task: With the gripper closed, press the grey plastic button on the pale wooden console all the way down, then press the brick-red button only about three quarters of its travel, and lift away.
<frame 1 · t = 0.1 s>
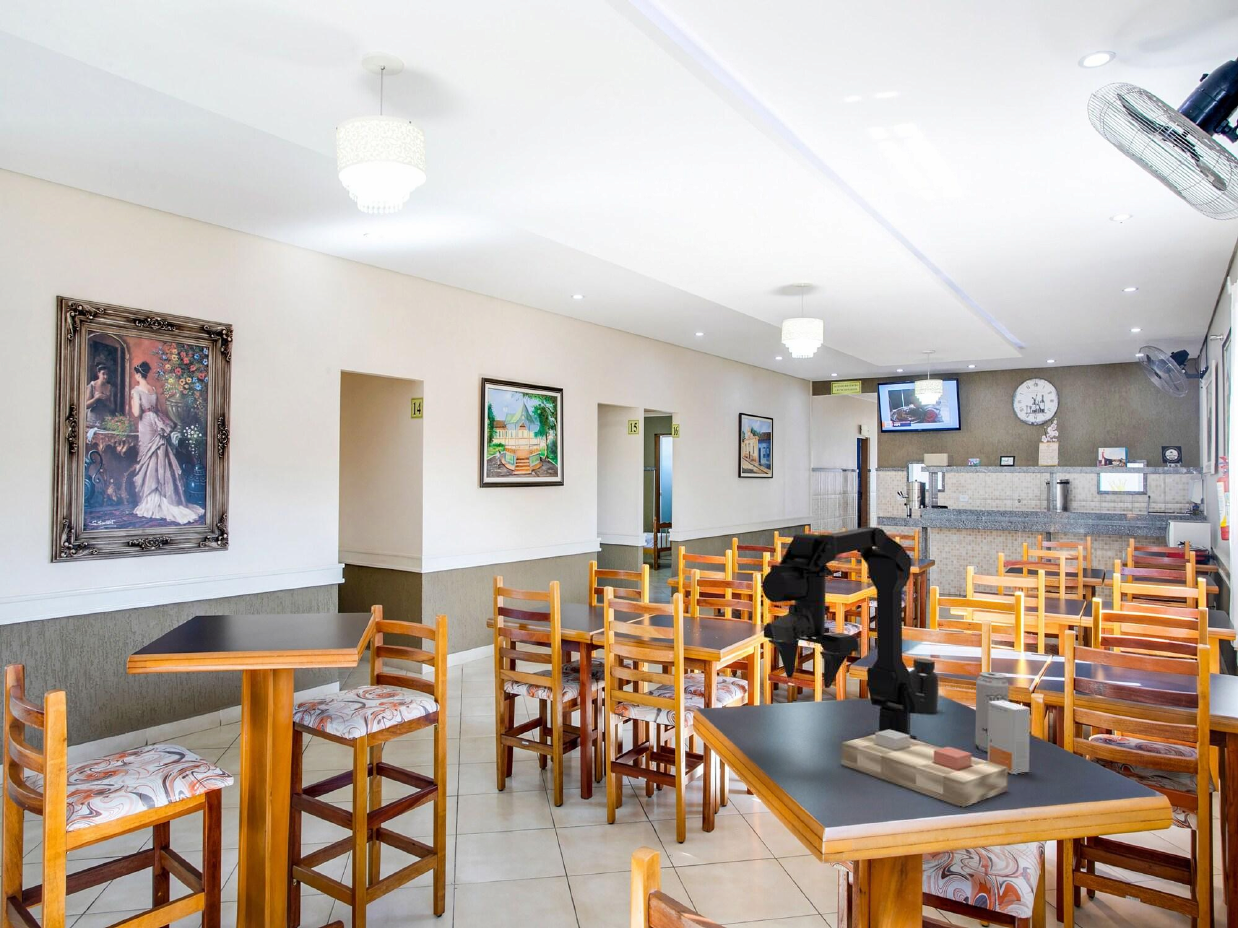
hand: (808, 682, 149), 15 cm above the table, tool pointing down, fingers open, 9 cm apart
supplement bottle: (922, 711, 188), on the table
button red: (952, 762, 137), point 4 cm above the table, slide at 0.0 cm
skincare box: (1008, 769, 148), on the table
button grey: (892, 743, 146), point 4 cm above the table, slide at 0.0 cm
console: (921, 777, 141), on the table
energy drink can: (991, 750, 159), on the table
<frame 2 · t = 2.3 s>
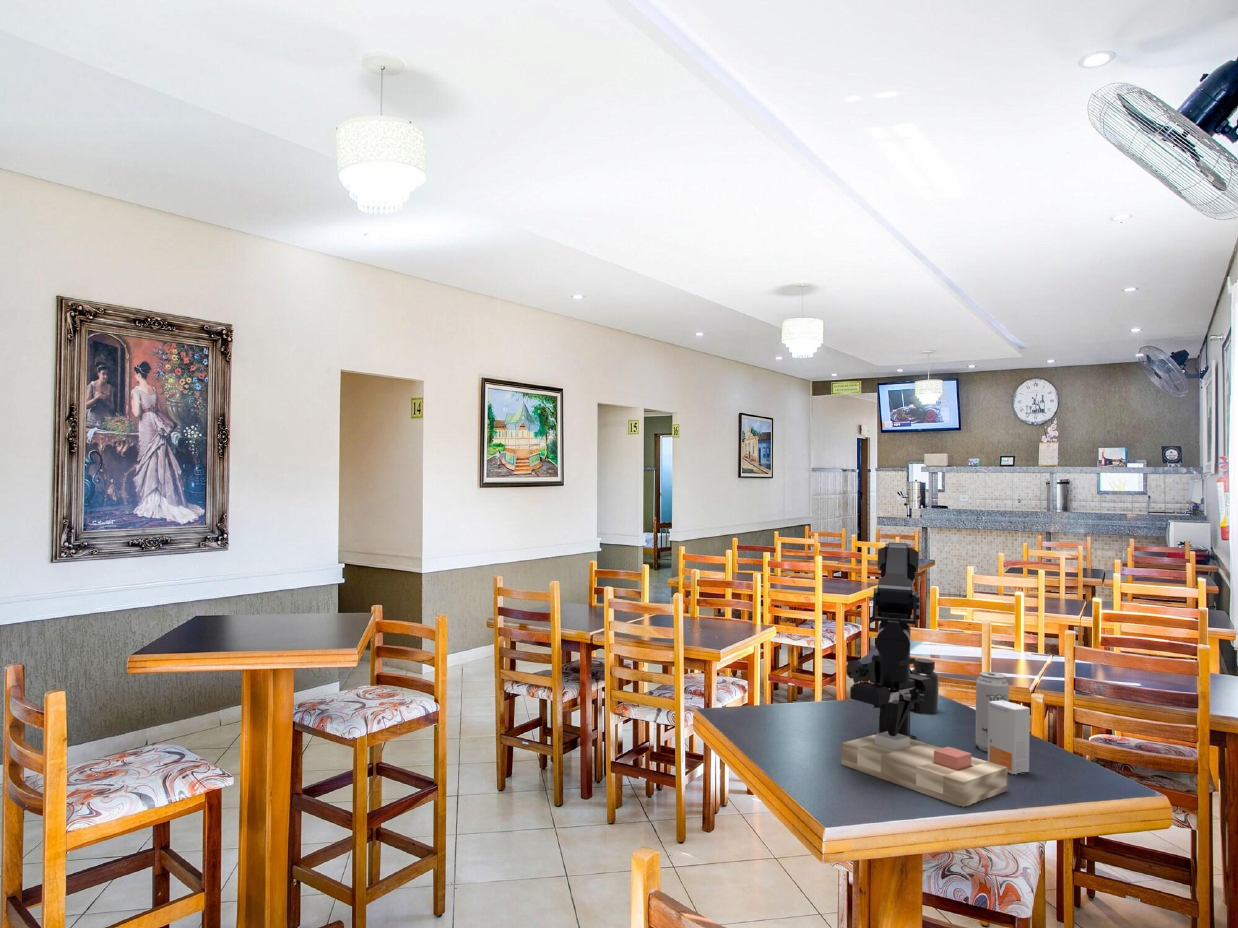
hand: (892, 735, 146), 6 cm above the table, tool pointing down, fingers closed, pressing on button grey
button grey: (892, 745, 146), point 4 cm above the table, slide at 0.3 cm, touching gripper
everything else where it was.
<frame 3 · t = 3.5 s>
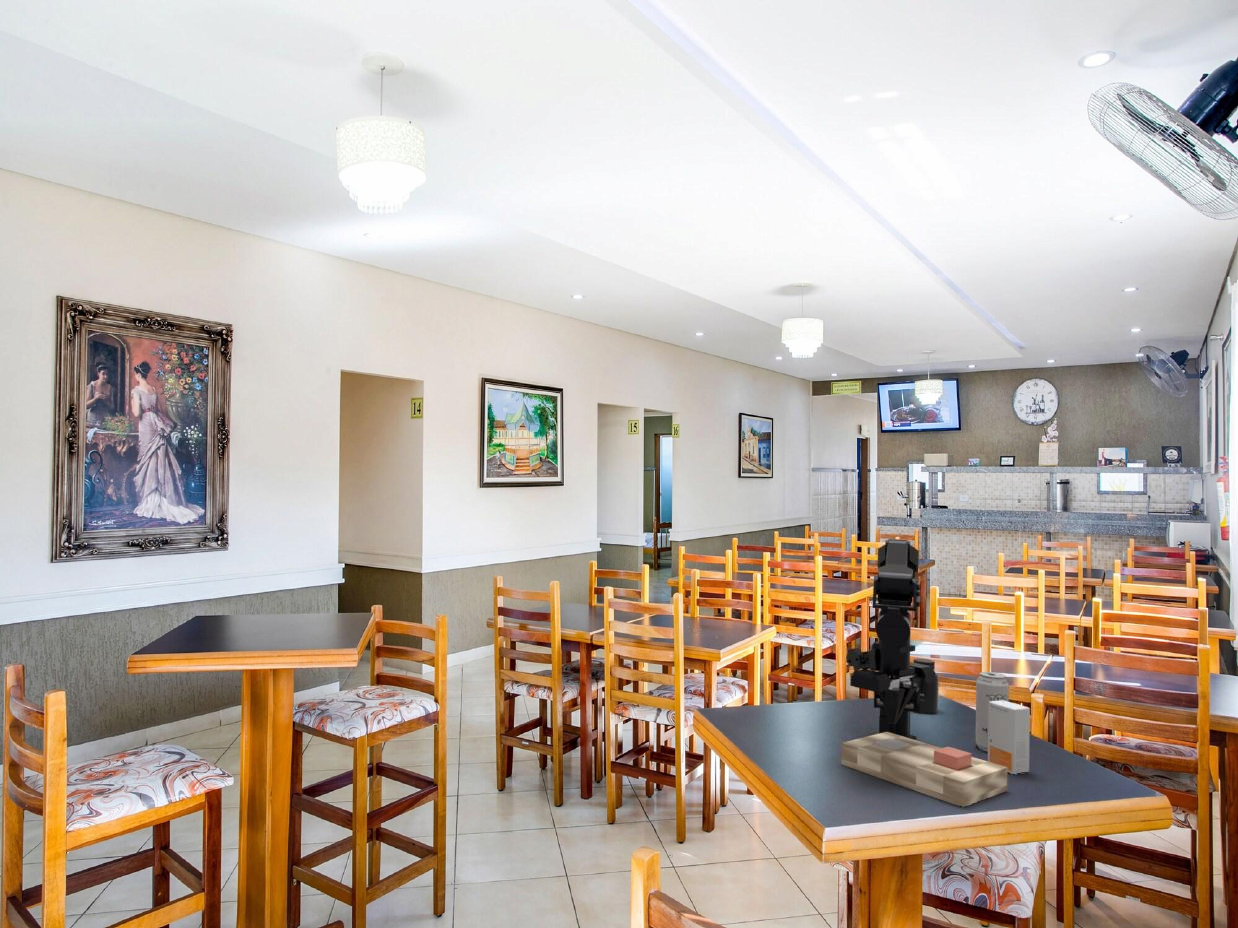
hand: (892, 723, 146), 8 cm above the table, tool pointing down, fingers closed
button grey: (892, 752, 146), point 3 cm above the table, slide at 1.6 cm, touching console
everything else where it was.
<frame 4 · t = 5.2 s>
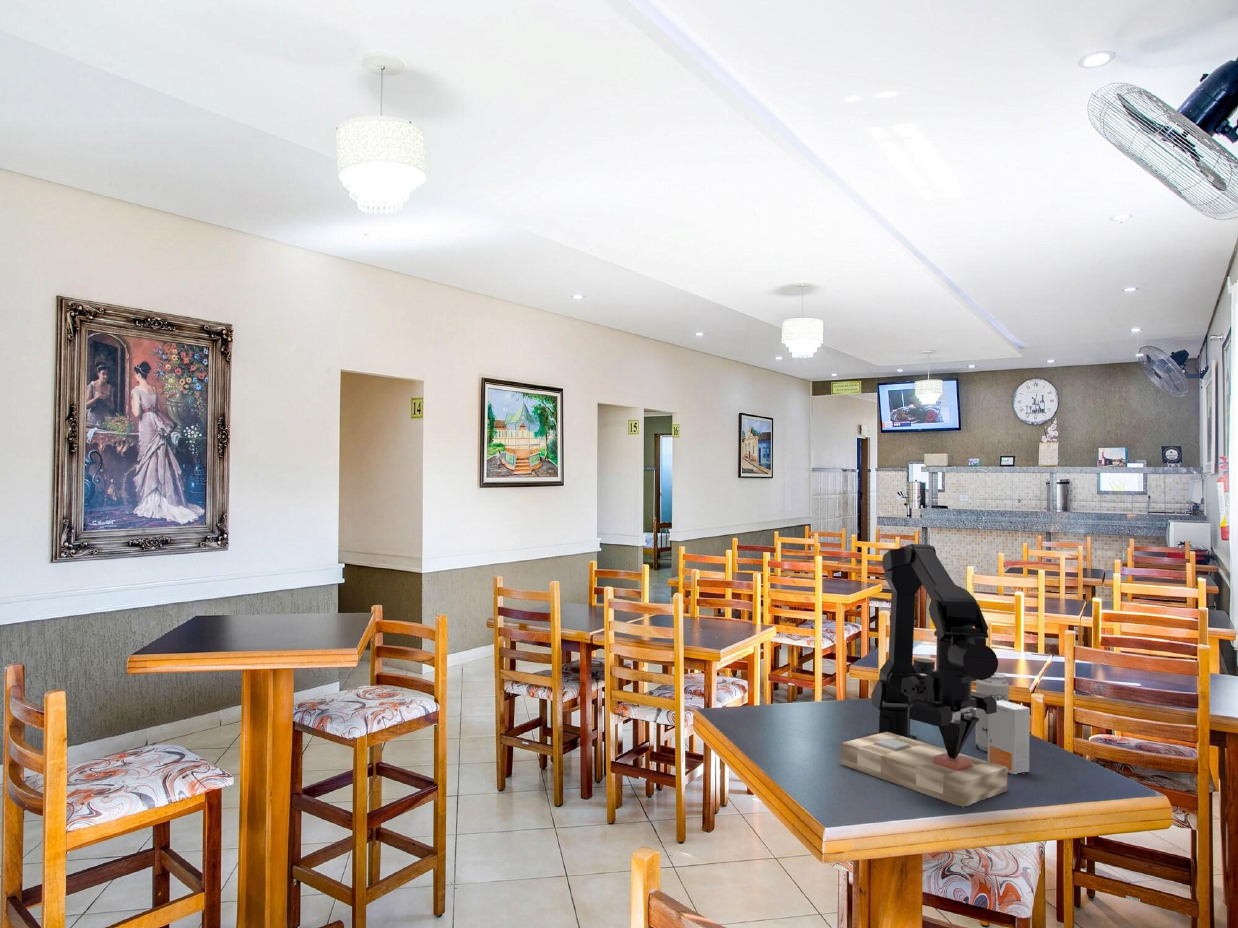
hand: (952, 757, 137), 5 cm above the table, tool pointing down, fingers closed, pressing on button red
button red: (952, 767, 137), point 3 cm above the table, slide at 1.0 cm, touching gripper
everything else where it was.
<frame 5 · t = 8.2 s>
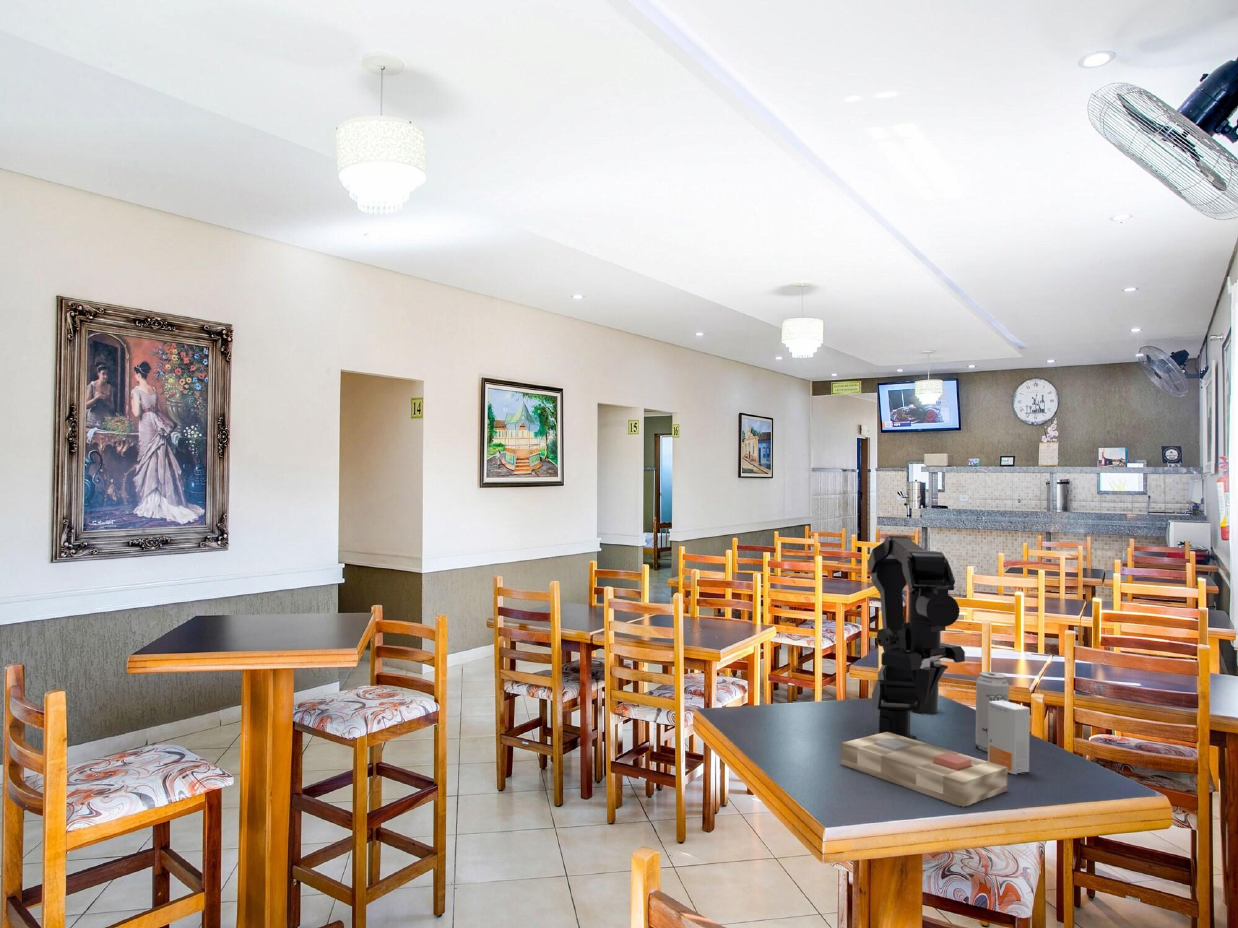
hand: (923, 702, 147), 12 cm above the table, tool pointing down, fingers closed
button red: (952, 768, 137), point 3 cm above the table, slide at 1.0 cm
everything else where it was.
at the end: button grey slide at 1.6 cm; button red slide at 1.0 cm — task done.
